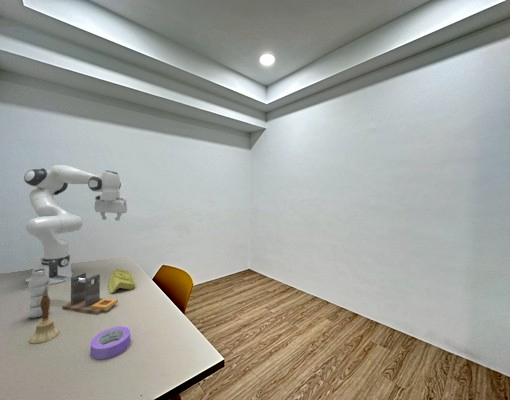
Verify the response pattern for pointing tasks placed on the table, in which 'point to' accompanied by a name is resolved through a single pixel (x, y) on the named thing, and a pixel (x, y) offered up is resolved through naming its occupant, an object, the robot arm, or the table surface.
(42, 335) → the hand bell
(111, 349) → the masking tape
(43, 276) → the plastic bottle
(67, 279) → the shaft
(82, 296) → the shaft frame
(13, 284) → the table surface
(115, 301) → the frame
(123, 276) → the plastic component
